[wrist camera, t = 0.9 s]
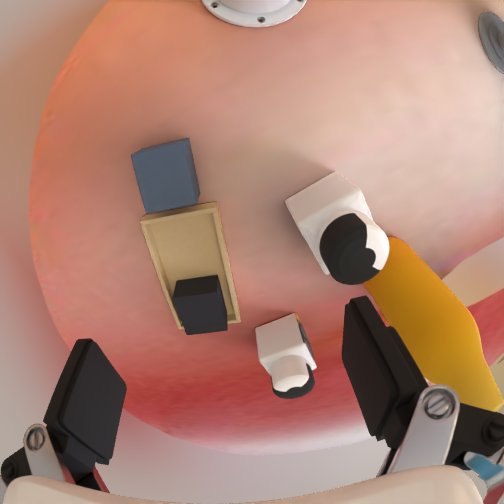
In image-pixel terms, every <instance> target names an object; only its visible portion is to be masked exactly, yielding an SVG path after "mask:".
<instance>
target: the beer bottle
mask: <svg viewBox="0 0 504 504" xmlns="http://www.w3.org/2000/svg"><path fill="white" fill-rule="evenodd" d="M387 238H388V241H389V254H388V258H387V261H386V263H385V265H384V267H383V268H382V269H381V271H380V272H379V273H378V274H377V275H376V276H374V277H373V278H372V279H370V280H368V281H366V282H364V283H363V284H364V286H365V287H366V289H367V290H368V291H369V293H370V294H371V296H372V297H373V299H374V300H375V302H376V304H377V305H378V307H379V308H380V310H381V312H382V313H383V315H384V317H385V318H386V320H387V322H388V323H389V325H390V326H392V327H394V328H395V329H396V331H397V332H398V334H399V335H400V337H401V339H402V340H403V342H404V344H405V345H406V347H407V349H408V350H409V352H410V354H411V355H412V357H413V359H414V361H415V362H416V364H417V366H418V367H419V369H420V371H421V373H422V375H423V376H424V377H425V378H426V379H428V380H429V381H431V382H432V383H434V384H443V385H446V386H449V387H451V388H452V389H453V390H455V392H456V393H457V395H458V397H459V400H460V403H464V404H467V405H471V406H475V407H478V408H482V409H486V410H490V411H494V412H497V411H498V410H499V409H500V408H501V406H502V405H503V404H504V401H503V398H502V396H501V394H500V391H499V389H498V386H497V384H496V382H495V380H494V378H493V376H492V374H491V372H490V369H489V367H488V365H487V363H486V361H485V359H484V356H483V352H482V346H481V339H480V334H479V330H478V327H477V325H476V322H475V320H474V318H473V316H472V315H471V313H470V312H469V310H468V309H467V308H466V307H465V306H464V305H463V304H462V302H461V301H460V300H459V299H458V298H457V297H456V296H455V294H454V293H453V292H452V291H451V290H450V289H449V288H448V287H447V285H446V284H445V283H444V282H443V281H442V280H441V279H440V278H439V277H438V276H437V275H436V274H435V273H434V271H433V270H432V269H431V268H430V267H429V266H428V265H427V264H426V263H425V262H424V261H423V260H422V259H421V258H420V257H419V256H418V255H417V254H416V253H415V252H414V251H413V250H412V249H411V248H410V246H409V245H407V244H406V243H405V242H404V241H402V240H400V239H398V238H394V237H387Z"/></svg>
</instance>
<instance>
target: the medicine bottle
mask: <svg viewBox="0 0 504 504" xmlns="http://www.w3.org/2000/svg"><path fill="white" fill-rule="evenodd" d="M255 331H256V340H257V348H258V356H259V361H260V362H261V364H262V365H263V366H264V368H265V369H266V370H267V372H268V373H269V374H270V375H271V381H272V388H273V392H274V394H275V395H277V396H278V397H280V398H285V399H292V398H298V397H301V396H303V395H305V394H307V393H309V392H310V391H311V390H312V388H313V387H314V385H315V381H314V377H313V374H312V370H313V369H316V363H315V359H314V356H313V353H312V349H311V346H310V343H309V340H308V337H307V335H306V333H305V331H304V329H303V326H302V324H301V322H300V320H299V318H298V316H297V314H296V313H293V314H290V315H288V316H285V317H283V318H280V319H277V320H275V321H272V322H270V323H267V324H264V325H262V326H259V327H256V329H255Z"/></svg>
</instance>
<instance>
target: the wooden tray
mask: <svg viewBox="0 0 504 504" xmlns="http://www.w3.org/2000/svg"><path fill="white" fill-rule="evenodd" d="M140 224H141V227H142V230H143V234H144V237H145V240H146V243H147V246H148V249H149V252H150V255H151V258H152V260H153V263H154V266H155V269H156V272H157V275H158V277H159V280H160V283H161V285H162V288H163V291H164V293H165V296H166V299H167V301H168V304H169V306H170V309H171V311H172V314H173V316H174V319H175V321H176V323H177V326H178V328H179V330H180V329H184V327H183V324H182V322H181V319H180V317H179V314H178V312H177V309H176V307H175V304H174V301H173V299H172V297H173V293H174V289H175V285H176V281H177V280H184V279H191V278H197V277H204V276H211V275H218V277H219V281H220V285H221V289H222V293H223V297H224V301H225V305H226V309H227V324H231V323H238V322H241V315H240V309H239V305H238V300H237V295H236V291H235V286H234V281H233V277H232V272H231V267H230V262H229V257H228V253H227V248H226V243H225V238H224V233H223V228H222V223H221V218H220V213H219V208H218V203H217V202H211V203H206V204H200V205H195V206H189V207H184V208H178V209H173V210H168V211H163V212H158V213H153V214H148V215H144V216H143V218H142V219H141V221H140Z"/></svg>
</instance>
